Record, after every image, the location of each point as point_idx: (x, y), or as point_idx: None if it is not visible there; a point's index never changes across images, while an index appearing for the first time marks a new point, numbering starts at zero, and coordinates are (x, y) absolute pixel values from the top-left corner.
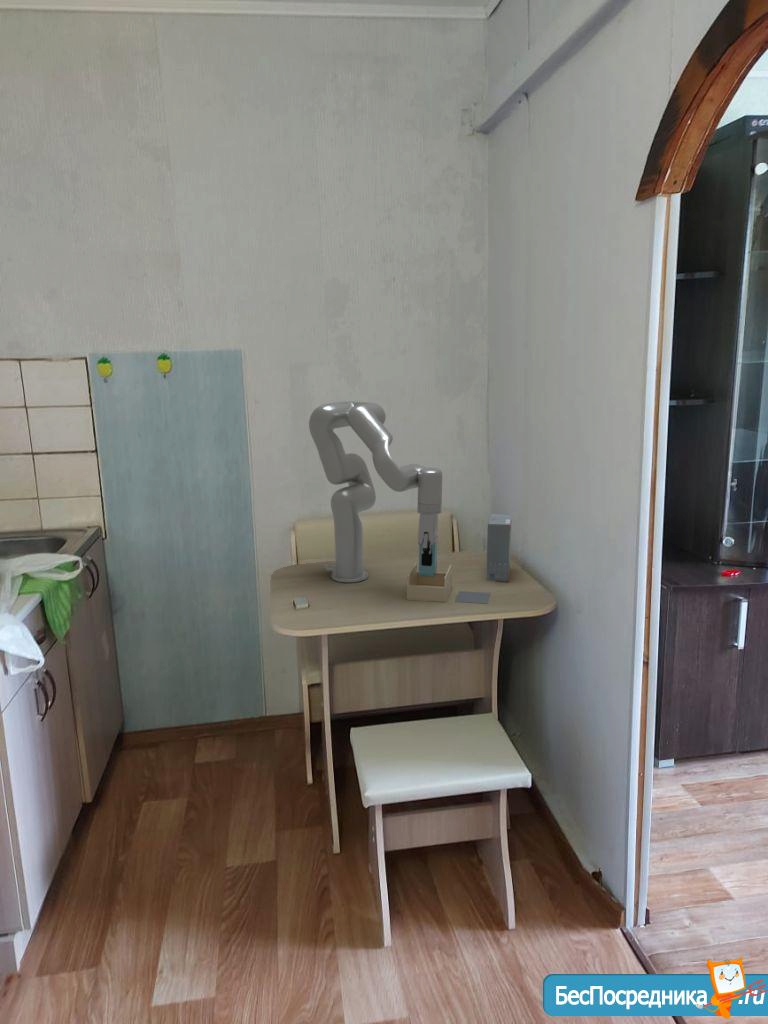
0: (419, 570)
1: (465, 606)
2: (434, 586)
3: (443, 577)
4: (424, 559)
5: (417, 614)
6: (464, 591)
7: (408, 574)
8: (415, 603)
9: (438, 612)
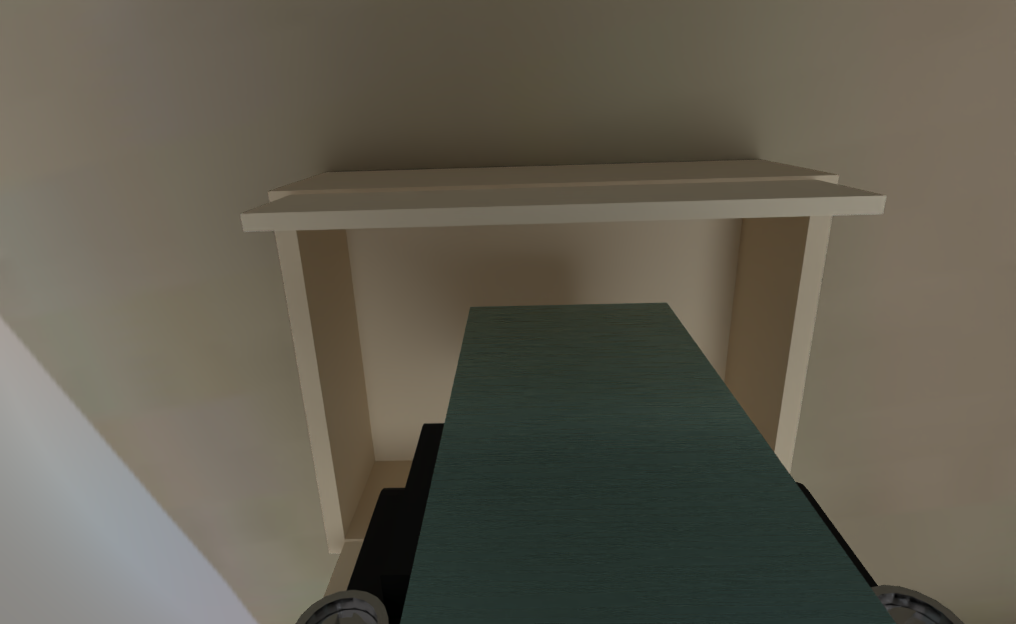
0: (463, 343)
1: None
2: (710, 340)
3: None
4: (366, 543)
5: (68, 321)
6: None
7: (315, 213)
8: None
9: (174, 450)
